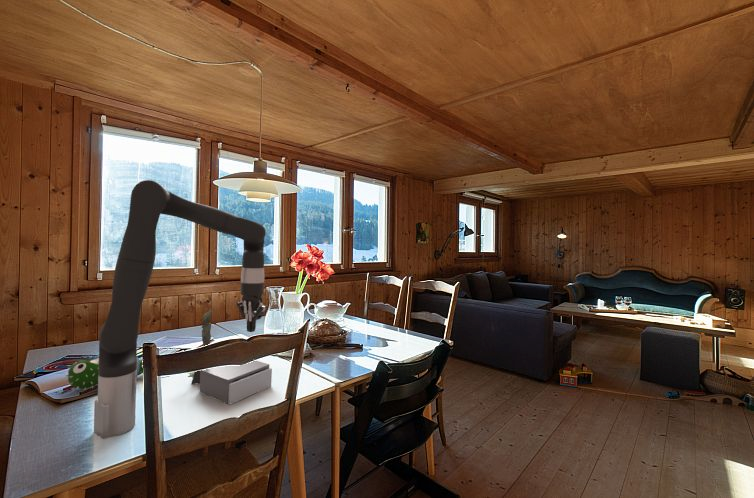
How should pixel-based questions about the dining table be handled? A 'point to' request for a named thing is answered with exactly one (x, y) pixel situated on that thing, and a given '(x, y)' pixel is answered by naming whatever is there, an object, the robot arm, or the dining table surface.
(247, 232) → the robot arm
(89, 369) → the toy
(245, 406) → the dining table surface
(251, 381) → the grey drawer
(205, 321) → the statue
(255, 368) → the grey drawer cabinet
